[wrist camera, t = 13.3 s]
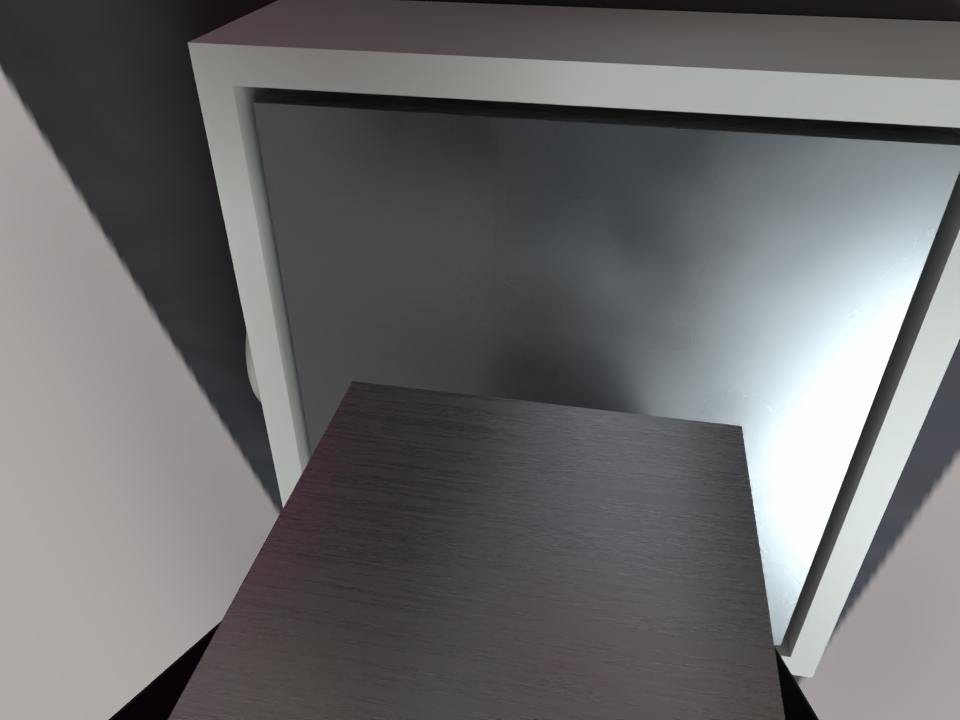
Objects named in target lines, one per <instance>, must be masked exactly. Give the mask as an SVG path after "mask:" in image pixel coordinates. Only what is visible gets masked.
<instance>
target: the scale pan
mask: <svg viewBox="0 0 960 720" xmlns="http://www.w3.org/2000/svg"><path fill="white" fill-rule="evenodd" d="M253 106H254V112H255V118H256V124H257V130H258V136H259V142H260V148H261V154H262V160H263V166H264V172H265V178H266V184H267V190H268V196H269V202H270V208H271V214H272V220H273V226H274V232H275V238H276V244H277V250H278V256H279V262H280V268H281V274H282V280H283V286H284V292H285V298H286V304H287V310H288V316H289V322H290V329H291V335H292V341H293V347H294V353H295V359H296V365H297V371H298V377H299V383H300V389H301V395H302V401H303V407H304V413H305V419H306V425H307V431H308V437H309V443H310V449H311V455H313V453H314V451H315V449H316V447H317V445H318V444H319V442H320V440H321V438H322V436H323V434H324V433H325V431H326V429H327V427H328V425H329V423H330V422H331V420H332V418H333V416H334V414H335V412H336V411H337V409H338V407H339V405H340V403H341V401H342V400H343V398H344V396H345V394H346V392H347V390H348V389H349V387H350V385H351V383H352V381H356V382H365V383H373V384H382V385H391V386H399V387H408V388H417V389H425V390H434V391H443V392H451V393H460V394H468V395H477V396H486V397H494V398H503V399H512V400H520V401H529V402H538V403H546V404H555V405H563V406H572V407H581V408H589V409H598V410H607V411H615V412H624V413H633V414H641V415H650V416H659V417H667V418H676V419H684V420H693V421H702V422H710V423H719V424H728V425H736V426H742V431H743V438H744V445H745V451H746V458H747V465H748V472H749V478H750V485H751V492H752V499H753V506H754V512H755V519H756V526H757V533H758V539H759V546H760V553H761V560H762V566H763V573H764V580H765V587H766V593H767V600H768V607H769V614H770V620H771V627H772V634H773V641H774V645H780V646H781V643H782V640H783V638H784V635H785V633H786V630H787V627H788V625H789V622H790V619H791V617H792V614H793V611H794V609H795V606H796V603H797V601H798V598H799V595H800V593H801V590H802V588H803V585H804V582H805V580H806V577H807V574H808V572H809V569H810V566H811V564H812V561H813V558H814V556H815V553H816V550H817V548H818V545H819V543H820V540H821V537H822V535H823V532H824V529H825V527H826V524H827V521H828V519H829V516H830V513H831V511H832V508H833V505H834V503H835V500H836V497H837V495H838V492H839V490H840V487H841V484H842V482H843V479H844V476H845V474H846V471H847V468H848V466H849V463H850V460H851V458H852V455H853V452H854V450H855V447H856V445H857V442H858V439H859V437H860V434H861V431H862V429H863V426H864V423H865V421H866V418H867V415H868V413H869V410H870V407H871V405H872V402H873V400H874V397H875V394H876V392H877V389H878V386H879V384H880V381H881V378H882V376H883V373H884V370H885V368H886V365H887V362H888V360H889V357H890V354H891V352H892V349H893V347H894V344H895V341H896V339H897V336H898V333H899V331H900V328H901V325H902V323H903V320H904V317H905V315H906V312H907V309H908V307H909V304H910V302H911V299H912V296H913V294H914V291H915V288H916V286H917V283H918V280H919V278H920V275H921V272H922V270H923V267H924V264H925V262H926V259H927V257H928V254H929V251H930V249H931V246H932V243H933V241H934V238H935V235H936V233H937V230H938V227H939V225H940V222H941V219H942V217H943V214H944V211H945V209H946V206H947V204H948V201H949V198H950V196H951V193H952V190H953V188H954V185H955V182H956V180H957V177H958V174H959V172H960V136H959V135H958V134H957V133H956V132H955V131H954V130H953V129H952V128H951V127H938V126H921V125H903V124H886V123H869V122H851V121H834V120H817V119H799V118H782V117H765V116H747V115H730V114H713V113H695V112H678V111H661V110H643V109H626V108H609V107H591V106H574V105H557V104H539V103H522V102H505V101H487V100H470V99H453V98H435V97H418V96H400V95H383V94H366V93H348V92H331V91H314V90H296V89H279V88H273V89H272V90H270V91H269V92H267V93H266V94H265V95H263V96H262V97H260V98H259V99H257V100H256V101H254V102H253Z"/></svg>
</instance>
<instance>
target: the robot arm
mask: <svg viewBox="0 0 960 720" xmlns="http://www.w3.org/2000/svg"><path fill="white" fill-rule="evenodd" d="M220 623H221V622H220ZM220 623H219V624H218V625H216V626H215V627H214V628H213V629H212V630H211V631H209V632H208V633H207V634H206V635H205V636H204V637H203V638H202V639H200V640H199V641H198V642H197V643H196V644H195V645H194V646H192V647H191V648H190V649H189V650H188V651H187V652H186V653H184V654H183V655H182V656H181V657H180V658H179V659H178V660H176V661H175V662H174V663H173V664H172V665H171V666H169V667H168V668H167V669H166V670H165V671H164V672H163V673H161V674H160V675H159V676H158V677H157V678H156V679H155V680H154V681H152V682H151V683H150V684H149V685H148V686H147V687H146V688H144V690H142V691H141V692H140V693H139V694H137V695H136V696H135V697H134V698H133V699H132V700H131V701H130V702H128V703H127V704H126V705H125V706H124V707H123V708H122V709H121V710H119V711H118V712H117V713H116V714H115V715H114V716H112V717H111V718H110V719H109V720H168V719H169V717H170V715H171V713H172V711H173V709H174V708H175V706H176V704H177V702H178V700H179V698H180V697H181V695H182V693H183V691H184V689H185V687H186V686H187V684H188V682H189V680H190V678H191V676H192V675H193V673H194V671H195V669H196V667H197V665H198V664H199V662H200V660H201V658H202V656H203V654H204V653H205V651H206V649H207V647H208V645H209V643H210V642H211V640H212V638H213V636H214V634H215V632H216V631H217V629H218V627H219V625H220ZM774 648H775V654H776V661H777V668H778V675H779V681H780V688H781V695H782V702H783V708H784V715H785V720H819V719H818V717H817V716H816V714H815V713H814V711H813V709H812V707H811V706H810V704H809V702H808V701H807V699H806V697H805V696H804V694H803V693H802V691H801V689H800V687H799V686H798V684H797V682H796V681H795V679H794V677H793V676H792V674H791V672H790V671H789V669H788V667H787V666H786V664H785V662H784V661H783V659H782V657H781V656H780V654H779V652H778V651H777V649H776V647H775V646H774Z"/></svg>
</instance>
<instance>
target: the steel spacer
mask: <svg viewBox="0 0 960 720" xmlns="http://www.w3.org/2000/svg"><path fill="white" fill-rule="evenodd" d="M168 720H785V715H784V708H783V702H782V695H781V688H780V681H779V675H778V668H777V661H776V654H775V648H774V641H773V634H772V627H771V620H770V614H769V607H768V600H767V593H766V587H765V580H764V573H763V566H762V560H761V553H760V546H759V539H758V533H757V526H756V519H755V512H754V506H753V499H752V492H751V485H750V478H749V472H748V465H747V458H746V451H745V445H744V438H743V431H742V426H736V425H728V424H719V423H710V422H702V421H693V420H684V419H676V418H667V417H659V416H650V415H641V414H633V413H624V412H615V411H607V410H598V409H589V408H581V407H572V406H563V405H555V404H546V403H538V402H529V401H520V400H512V399H503V398H494V397H486V396H477V395H468V394H460V393H451V392H443V391H434V390H425V389H417V388H408V387H399V386H391V385H382V384H373V383H365V382H356V381H352V383H351V385H350V387H349V389H348V390H347V392H346V394H345V396H344V398H343V400H342V401H341V403H340V405H339V407H338V409H337V411H336V412H335V414H334V416H333V418H332V420H331V422H330V423H329V425H328V427H327V429H326V431H325V433H324V434H323V436H322V438H321V440H320V442H319V444H318V445H317V447H316V449H315V451H314V453H313V455H312V456H311V458H310V460H309V462H308V464H307V466H306V467H305V469H304V471H303V473H302V475H301V477H300V478H299V480H298V482H297V484H296V486H295V488H294V489H293V491H292V493H291V495H290V497H289V499H288V500H287V502H286V504H285V506H284V508H283V510H282V511H281V513H280V515H279V517H278V519H277V521H276V522H275V524H274V526H273V528H272V530H271V532H270V534H269V535H268V537H267V539H266V541H265V543H264V545H263V546H262V548H261V550H260V552H259V554H258V555H257V557H256V559H255V561H254V563H253V565H252V566H251V568H250V570H249V572H248V574H247V576H246V578H245V579H244V581H243V583H242V585H241V587H240V588H239V590H238V592H237V594H236V596H235V598H234V599H233V602H232V603H231V605H230V607H229V609H228V610H227V612H226V614H225V616H224V618H223V620H222V621H221V623H220V625H219V627H218V629H217V631H216V632H215V634H214V636H213V638H212V640H211V642H210V643H209V645H208V647H207V649H206V651H205V653H204V654H203V656H202V658H201V660H200V662H199V664H198V665H197V667H196V669H195V671H194V673H193V675H192V676H191V678H190V680H189V682H188V684H187V686H186V687H185V689H184V691H183V693H182V695H181V697H180V698H179V700H178V702H177V704H176V706H175V708H174V709H173V711H172V713H171V715H170V717H169V719H168Z"/></svg>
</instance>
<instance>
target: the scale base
mask: <svg viewBox="0 0 960 720" xmlns="http://www.w3.org/2000/svg"><path fill="white" fill-rule="evenodd" d="M188 47H189V52H190V57H191V61H192V66H193V71H194V76H195V81H196V86H197V91H198V96H199V100H200V105H201V110H202V115H203V120H204V125H205V130H206V135H207V139H208V144H209V149H210V154H211V159H212V164H213V169H214V174H215V178H216V183H217V188H218V193H219V198H220V203H221V208H222V212H223V217H224V222H225V227H226V232H227V237H228V242H229V247H230V251H231V256H232V261H233V266H234V271H235V276H236V281H237V286H238V290H239V295H240V300H241V305H242V310H243V315H244V320H245V324H246V329H247V332H246V362H247V370H248V376H249V380H250V384H251V386H252V389H253V391H254V393H255V395H256V397H257V398H258V400H259V401H260V402H261V403H262V407H263V412H264V417H265V422H266V427H267V432H268V436H269V441H270V446H271V451H272V456H273V461H274V466H275V471H276V475H277V480H278V485H279V490H280V495H281V500H282V505H283V508H284V506H285V504H286V502H287V500H288V499H289V497H290V495H291V493H292V491H293V489H294V488H295V486H296V484H297V482H298V480H299V478H300V477H301V475H302V473H303V471H304V469H305V467H306V466H307V464H308V462H309V460H310V458H311V456H312V455H311V449H310V443H309V437H308V431H307V425H306V419H305V413H304V407H303V401H302V395H301V389H300V383H299V377H298V371H297V365H296V359H295V353H294V347H293V341H292V335H291V329H290V322H289V316H288V310H287V304H286V298H285V292H284V286H283V280H282V274H281V268H280V262H279V256H278V250H277V244H276V238H275V232H274V226H273V220H272V214H271V208H270V202H269V196H268V190H267V184H266V178H265V172H264V166H263V160H262V154H261V148H260V142H259V136H258V130H257V124H256V118H255V112H254V106H253V102H254V101H256V100H257V99H259V98H260V97H262V96H263V95H265V94H266V93H267V92H269V91H270V90H272V89H273V88H279V89H296V90H314V91H331V92H348V93H366V94H383V95H400V96H418V97H435V98H453V99H470V100H487V101H505V102H522V103H539V104H557V105H574V106H591V107H609V108H626V109H643V110H661V111H678V112H695V113H713V114H730V115H747V116H765V117H782V118H799V119H817V120H834V121H851V122H869V123H886V124H903V125H921V126H938V127H951V128H952V129H953V130H954V131H955V132H956V133H957V134H958V135H959V136H960V22H951V21H925V20H899V19H873V18H847V17H821V16H795V15H769V14H744V13H718V12H692V11H666V10H640V9H614V8H588V7H562V6H536V5H510V4H484V3H458V2H432V1H406V0H278V1H275V2H273V3H271V4H269V5H267V6H265V7H263V8H260V9H258V10H256V11H254V12H252V13H250V14H248V15H245V16H243V17H241V18H239V19H237V20H235V21H233V22H230V23H228V24H226V25H224V26H222V27H220V28H218V29H215V30H213V31H211V32H209V33H207V34H205V35H203V36H200V37H198V38H196V39H194V40H192V41H190V42H188ZM959 339H960V172H959V174H958V177H957V180H956V182H955V185H954V188H953V190H952V193H951V196H950V198H949V201H948V204H947V206H946V209H945V211H944V214H943V217H942V219H941V222H940V225H939V227H938V230H937V233H936V235H935V238H934V241H933V243H932V246H931V249H930V251H929V254H928V257H927V259H926V262H925V264H924V267H923V270H922V272H921V275H920V278H919V280H918V283H917V286H916V288H915V291H914V294H913V296H912V299H911V302H910V304H909V307H908V309H907V312H906V315H905V317H904V320H903V323H902V325H901V328H900V331H899V333H898V336H897V339H896V341H895V344H894V347H893V349H892V352H891V354H890V357H889V360H888V362H887V365H886V368H885V370H884V373H883V376H882V378H881V381H880V384H879V386H878V389H877V392H876V394H875V397H874V400H873V402H872V405H871V407H870V410H869V413H868V415H867V418H866V421H865V423H864V426H863V429H862V431H861V434H860V437H859V439H858V442H857V445H856V447H855V450H854V452H853V455H852V458H851V460H850V463H849V466H848V468H847V471H846V474H845V476H844V479H843V482H842V484H841V487H840V490H839V492H838V495H837V497H836V500H835V503H834V505H833V508H832V511H831V513H830V516H829V519H828V521H827V524H826V527H825V529H824V532H823V535H822V537H821V540H820V543H819V545H818V548H817V550H816V553H815V556H814V558H813V561H812V564H811V566H810V569H809V572H808V574H807V577H806V580H805V582H804V585H803V588H802V590H801V593H800V595H799V598H798V601H797V603H796V606H795V609H794V611H793V614H792V617H791V619H790V622H789V625H788V627H787V630H786V633H785V635H784V638H783V640H782V643H781V646H780V645H774V646H775V647H776V649H777V651H778V652H779V654H780V656H781V657H782V659H783V661H784V662H785V664H786V666H787V667H788V669H789V671H790V672H791V674H792V675H798V676H805V677H811V678H812V677H813V675H814V672H815V670H816V668H817V666H818V663H819V661H820V659H821V657H822V654H823V652H824V650H825V647H826V645H827V643H828V640H829V638H830V636H831V634H832V631H833V629H834V627H835V624H836V622H837V620H838V617H839V615H840V613H841V611H842V608H843V606H844V604H845V601H846V599H847V597H848V594H849V592H850V590H851V587H852V585H853V583H854V581H855V578H856V576H857V574H858V571H859V569H860V567H861V564H862V562H863V560H864V558H865V555H866V553H867V551H868V548H869V546H870V544H871V541H872V539H873V537H874V535H875V532H876V530H877V528H878V525H879V523H880V521H881V518H882V516H883V514H884V512H885V509H886V507H887V505H888V502H889V500H890V498H891V495H892V493H893V491H894V488H895V486H896V484H897V482H898V479H899V477H900V475H901V472H902V470H903V468H904V465H905V463H906V461H907V459H908V456H909V454H910V452H911V449H912V447H913V445H914V442H915V440H916V438H917V436H918V433H919V431H920V429H921V426H922V424H923V422H924V419H925V417H926V415H927V413H928V410H929V408H930V406H931V403H932V401H933V399H934V396H935V394H936V392H937V390H938V387H939V385H940V383H941V380H942V378H943V376H944V373H945V371H946V369H947V366H948V364H949V362H950V360H951V357H952V355H953V353H954V350H955V348H956V346H957V343H958V341H959Z"/></svg>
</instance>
